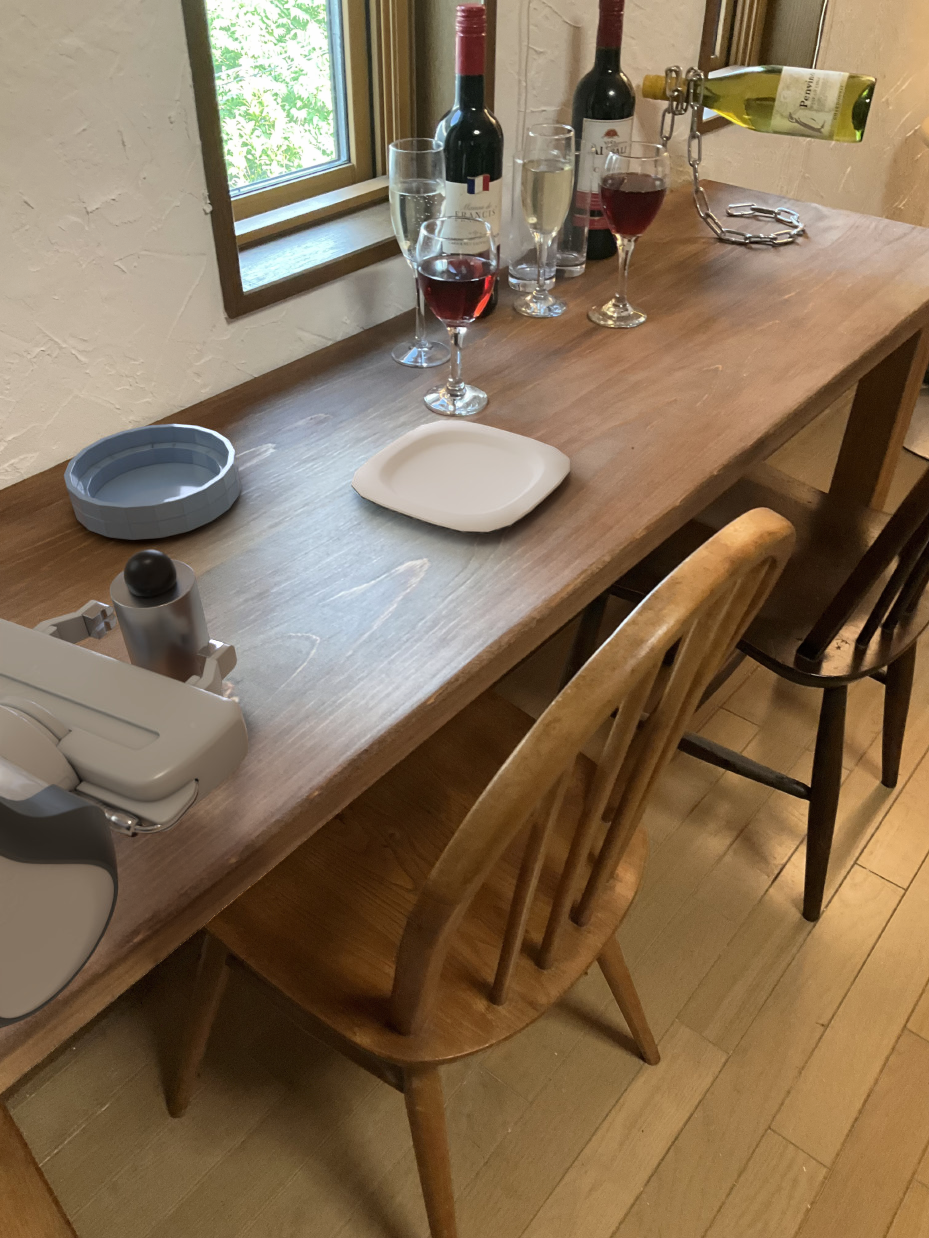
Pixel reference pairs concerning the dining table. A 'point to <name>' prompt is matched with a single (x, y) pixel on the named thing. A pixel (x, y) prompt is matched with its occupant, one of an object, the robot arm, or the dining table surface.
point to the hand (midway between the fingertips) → (165, 629)
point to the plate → (462, 476)
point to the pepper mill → (160, 615)
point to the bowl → (153, 481)
